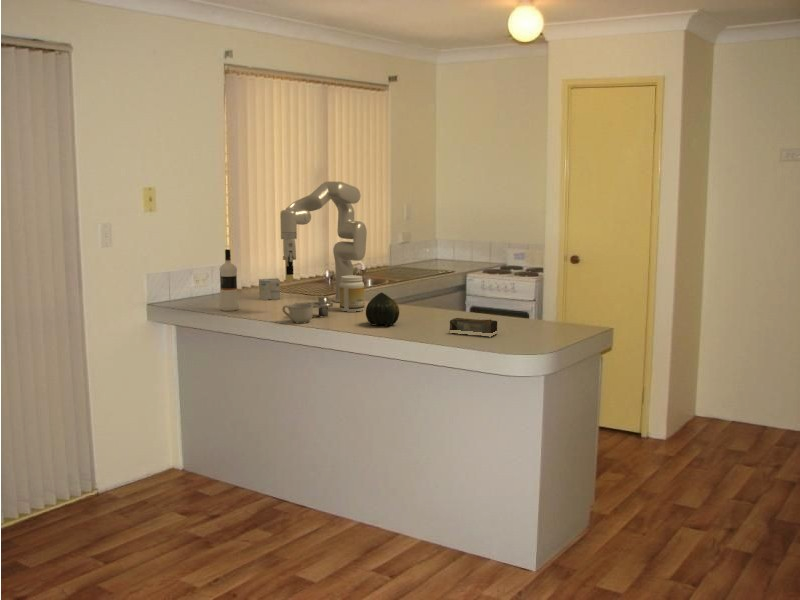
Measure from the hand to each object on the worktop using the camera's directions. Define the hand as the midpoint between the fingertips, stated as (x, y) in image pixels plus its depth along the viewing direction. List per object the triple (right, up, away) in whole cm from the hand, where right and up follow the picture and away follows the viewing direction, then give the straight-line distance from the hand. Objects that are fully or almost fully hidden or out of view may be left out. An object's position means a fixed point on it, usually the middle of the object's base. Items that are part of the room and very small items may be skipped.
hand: (289, 273), depth 384 cm
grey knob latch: (+13, -21, -7) cm, 25 cm away
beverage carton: (+84, -27, -45) cm, 99 cm away
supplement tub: (+30, -18, +11) cm, 36 cm away
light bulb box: (-17, -12, +45) cm, 50 cm away
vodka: (-31, -18, +11) cm, 38 cm away
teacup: (+7, -23, -20) cm, 31 cm away
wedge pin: (0, -3, 0) cm, 3 cm away
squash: (+45, -24, -26) cm, 57 cm away
